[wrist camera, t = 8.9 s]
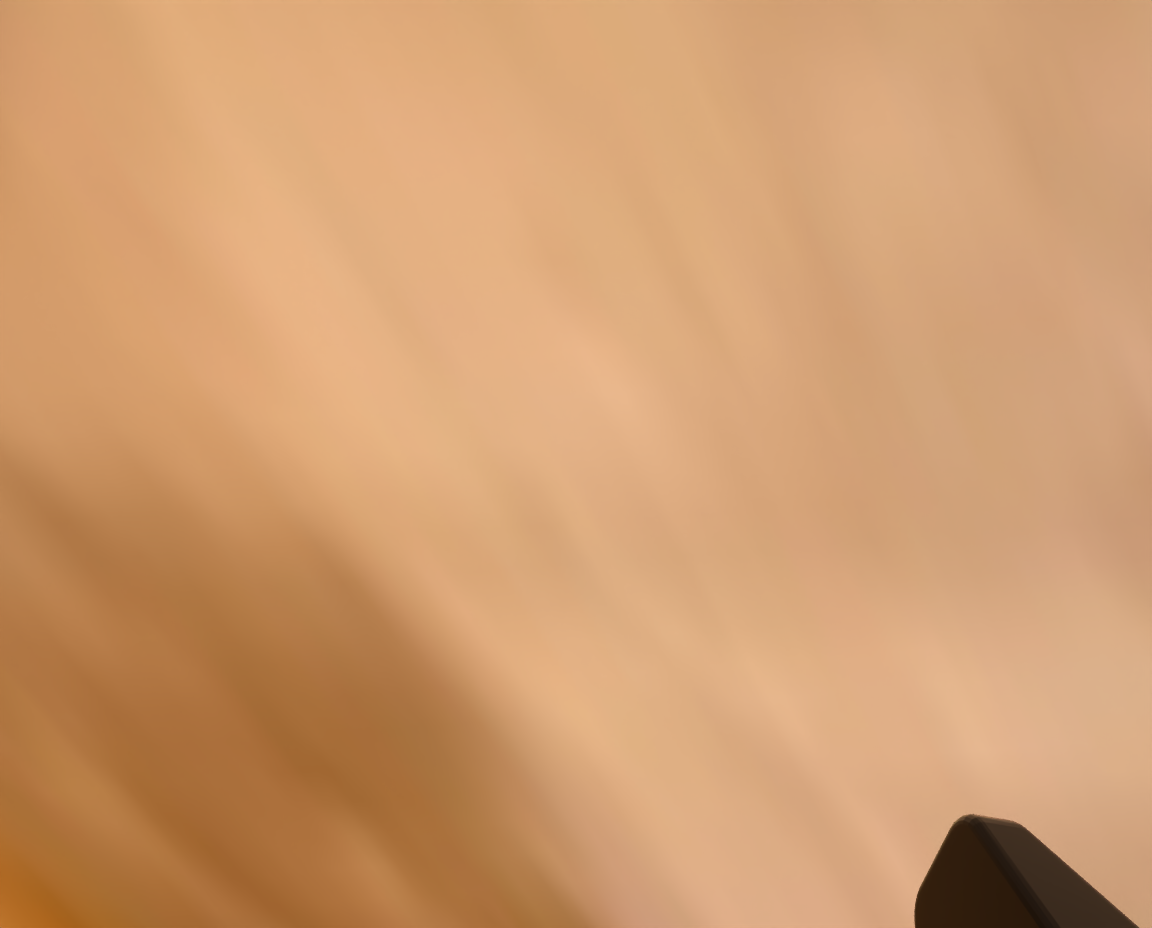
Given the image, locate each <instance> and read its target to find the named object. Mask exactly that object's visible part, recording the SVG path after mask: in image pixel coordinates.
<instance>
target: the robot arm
mask: <svg viewBox="0 0 1152 928" xmlns="http://www.w3.org/2000/svg"><path fill="white" fill-rule="evenodd" d="M915 928H1139V927H1138V926H1137V925H1136V924H1134V923H1133V922H1132V921H1131V920H1130V919H1129V918H1128V917H1126V916H1125V915H1124V914H1123V913H1122V912H1121V911H1120V910H1118V909H1117V908H1116V907H1115V906H1114V905H1113V904H1112V903H1110V902H1109V901H1108V900H1107V899H1106V898H1105V897H1104V896H1102V895H1101V894H1100V893H1099V892H1098V891H1097V890H1096V889H1094V888H1093V887H1092V886H1091V885H1090V884H1089V883H1088V882H1086V881H1085V880H1084V879H1083V878H1082V877H1081V876H1080V875H1078V874H1077V873H1076V872H1075V871H1074V870H1073V869H1072V868H1070V867H1069V866H1068V865H1067V864H1066V863H1065V862H1064V861H1062V860H1061V859H1060V858H1059V857H1058V856H1057V855H1056V854H1055V853H1053V852H1052V851H1051V850H1050V849H1049V848H1048V847H1047V846H1045V845H1044V844H1043V843H1042V842H1041V841H1040V840H1039V839H1037V838H1036V837H1035V836H1034V835H1033V834H1032V833H1031V832H1029V831H1028V830H1027V829H1026V828H1025V827H1023V826H1022V825H1020V824H1018V823H1016V822H1014V821H1010V820H1005V819H999V818H993V817H986V816H980V815H974V814H970V815H964V816H962V817H960V818H959V819H958V820H957V821H955V822H954V824H953V825H952V827H951V828H950V830H949V832H948V834H947V836H946V838H945V840H944V842H943V844H942V846H941V848H940V849H939V851H938V853H937V855H936V857H935V859H934V861H933V863H932V865H931V867H930V869H929V871H928V873H927V875H926V877H925V879H924V881H923V882H922V884H921V886H920V889H919V891H918V894H917V898H916V903H915Z"/></svg>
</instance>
